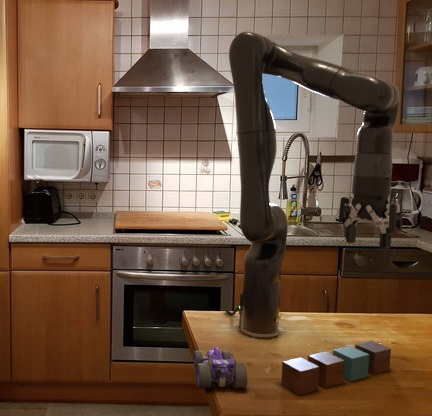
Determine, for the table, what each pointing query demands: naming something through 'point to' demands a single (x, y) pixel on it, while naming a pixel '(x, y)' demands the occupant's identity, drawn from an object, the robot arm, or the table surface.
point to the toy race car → (219, 369)
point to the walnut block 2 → (328, 368)
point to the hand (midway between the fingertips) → (366, 246)
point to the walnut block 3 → (376, 356)
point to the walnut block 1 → (300, 376)
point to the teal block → (353, 362)
